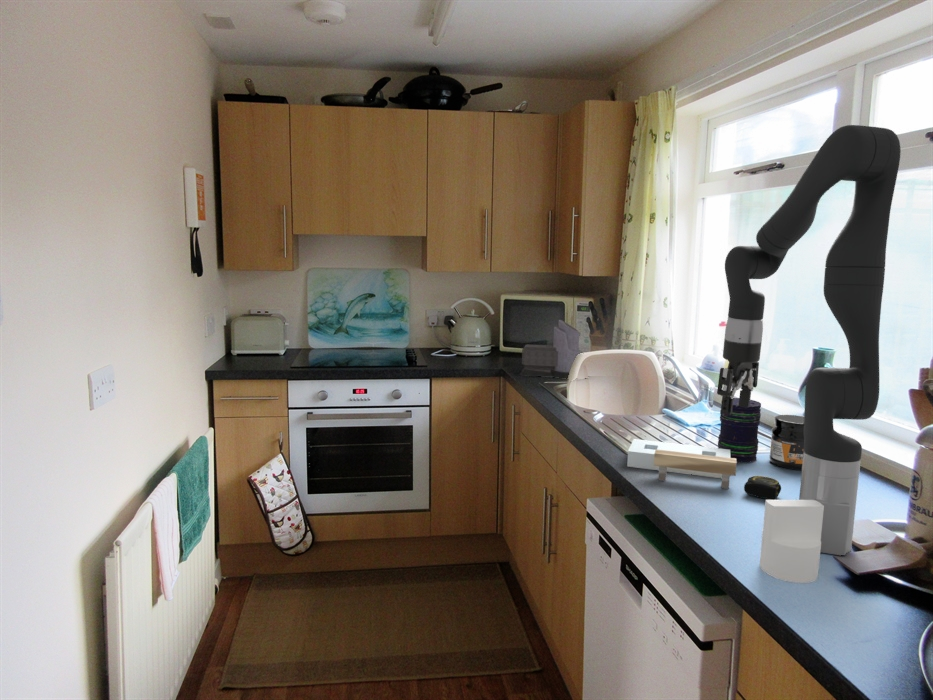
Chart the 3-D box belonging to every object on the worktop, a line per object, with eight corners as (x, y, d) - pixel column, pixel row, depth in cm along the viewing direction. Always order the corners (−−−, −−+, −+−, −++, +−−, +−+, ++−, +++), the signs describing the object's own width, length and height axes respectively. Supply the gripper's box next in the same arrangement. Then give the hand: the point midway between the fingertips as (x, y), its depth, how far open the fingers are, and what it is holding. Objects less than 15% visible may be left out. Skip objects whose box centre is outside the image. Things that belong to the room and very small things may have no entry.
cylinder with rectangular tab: (800, 558, 119) (806, 493, 117) (829, 583, 110) (836, 513, 109) (750, 558, 119) (755, 493, 117) (775, 583, 110) (781, 513, 108)
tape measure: (742, 496, 149) (743, 480, 149) (751, 488, 155) (753, 472, 154) (774, 504, 145) (775, 487, 145) (783, 495, 150) (784, 479, 150)
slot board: (729, 479, 160) (730, 463, 160) (627, 466, 169) (628, 451, 168) (729, 464, 171) (730, 449, 171) (633, 453, 180) (633, 438, 179)
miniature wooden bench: (734, 490, 153) (736, 463, 152) (652, 479, 159) (654, 453, 158) (734, 485, 156) (736, 458, 155) (654, 475, 162) (655, 449, 161)
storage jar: (714, 458, 176) (718, 403, 174) (719, 449, 185) (723, 396, 183) (755, 465, 172) (760, 408, 169) (758, 455, 180) (763, 400, 178)
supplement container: (768, 467, 170) (772, 421, 168) (769, 455, 180) (773, 412, 178) (814, 473, 166) (819, 426, 164) (813, 461, 175) (817, 417, 173)
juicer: (589, 374, 296) (591, 319, 293) (589, 380, 281) (591, 322, 277) (521, 370, 302) (523, 316, 298) (517, 377, 286) (519, 320, 283)
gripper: (745, 345, 138) (736, 420, 142) (774, 337, 148) (765, 408, 151) (710, 339, 144) (703, 412, 147) (741, 332, 153) (733, 401, 157)
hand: (735, 410), depth 149 cm, fingers open, 8 cm apart
